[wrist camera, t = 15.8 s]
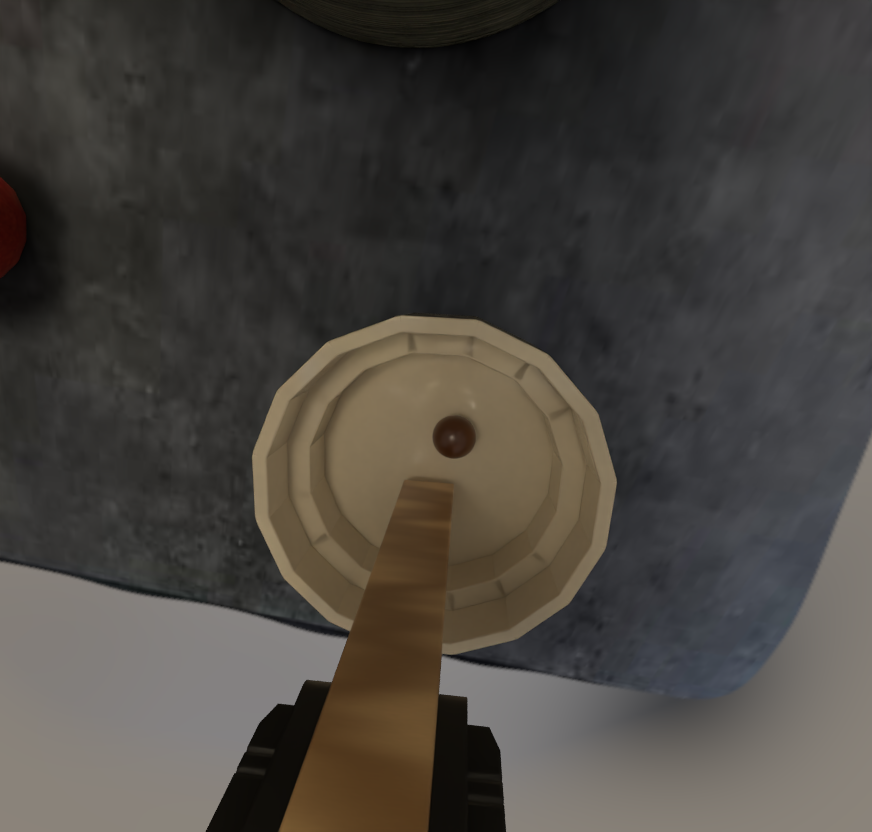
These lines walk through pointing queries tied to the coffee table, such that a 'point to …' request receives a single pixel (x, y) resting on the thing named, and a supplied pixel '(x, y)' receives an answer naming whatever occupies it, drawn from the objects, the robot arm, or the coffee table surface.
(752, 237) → the coffee table surface
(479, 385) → the bowl
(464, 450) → the bead
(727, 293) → the coffee table surface
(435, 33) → the planter
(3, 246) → the apple
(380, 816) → the stick
